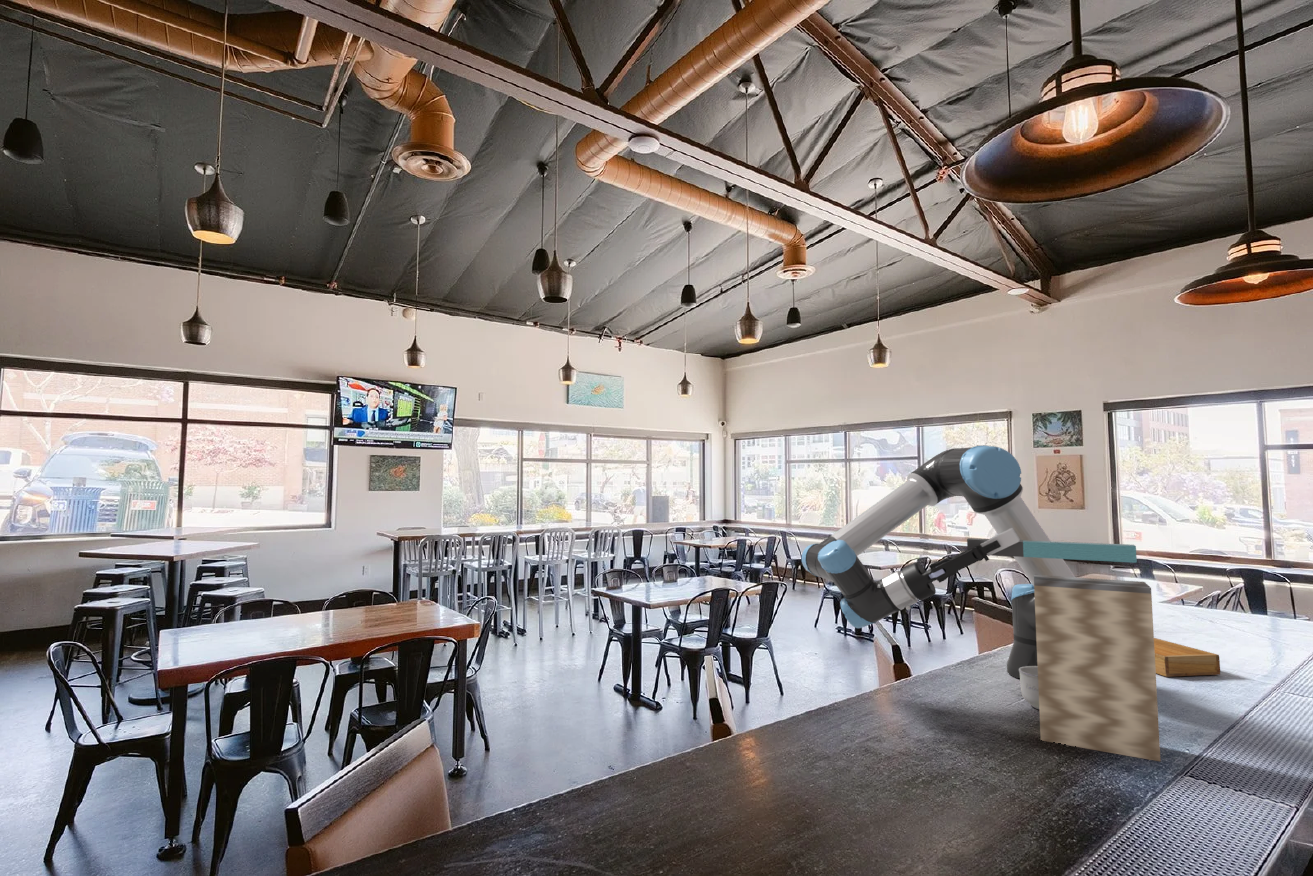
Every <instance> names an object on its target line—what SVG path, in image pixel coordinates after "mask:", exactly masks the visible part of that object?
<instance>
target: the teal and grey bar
mask: <svg viewBox="0 0 1313 876" xmlns="http://www.w3.org/2000/svg"><path fill="white" fill-rule="evenodd" d="M988 540H990V538H974V537H973V538H972V537H971V538H970V537H967V539H966V548H967V549H966V550H967V551H969V550H971V549H973V548H975V547H976V546H981V545H980V544H982V543H984V542H986V541H988ZM981 547H982V546H981ZM986 555H987V554H986ZM987 556H988V555H987ZM991 556H1000V557H1013V556H1015V557H1035V558H1054V559H1063V560H1073V561H1074V560H1077V561H1093V562H1095V561H1096V562H1098V561H1100V562H1115V563H1116V562H1117V563H1138V560H1137V559H1138V558H1137V557H1138V556H1137V546H1136V544H1125V543H1124V544H1123V543H1102V542H1101V543H1099V542H1097V543H1095V542H1078V541H1077V542H1071V541H1052V540H1050V541H1026V540H1019V542H1017V543H1015V544H1013V545H1011V546H1009V547H1007V548H1005V549H1003V550H1000V551H998V552H996V553H994V554H992V555H991Z"/></svg>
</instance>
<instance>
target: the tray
mask: <svg viewBox="0 0 1313 876" xmlns="http://www.w3.org/2000/svg"><path fill="white" fill-rule="evenodd" d="M1154 650H1155V668H1156V675H1160V676H1163V677H1167V678H1168V677H1187V676H1188V677H1189V676H1190V677H1191V676H1210V675H1211V676H1213V675H1214V676H1216V675H1219V676H1220V675H1221V663H1220V661H1221V660H1220V654H1217V653H1214V652H1210V651H1205V650H1201V649H1198V648H1194V647H1191V646H1188V645H1187V646H1186V645H1183V644H1179V643H1176V642H1175V643H1174V642H1172V641H1168V640H1164V639H1160V638H1156V637H1154Z"/></svg>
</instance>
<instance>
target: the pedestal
mask: <svg viewBox="0 0 1313 876" xmlns="http://www.w3.org/2000/svg"><path fill="white" fill-rule="evenodd" d="M1075 577H1076V576H1075ZM1075 577H1059V576H1043V575H1034V594H1035V618H1036V641H1037V665H1038V689H1039V709H1038V710H1039V712H1038V713H1039V730H1040V731H1039V734H1040V741H1041V740H1042V742H1047V743H1053V742H1055V743H1054V744H1058V743H1061V744H1060V745H1064V744H1066V745H1065V746H1071V747H1075V746H1076V747H1075V748H1081V749H1082V748H1083V749H1087V750H1094V751H1098V752H1103V753H1109V754H1110V753H1111V754H1117V755H1122V756H1127V757H1131V758H1132V757H1133V758H1138V759H1145V760H1150V761H1156V762H1161V761H1162V759H1161V746H1160V745H1161V743H1160V725H1159V724H1160V723H1159V709H1158V705H1159V704H1158V692H1157V690H1158V689H1157V688H1158V687H1157V673H1156V668H1155V650H1154V638H1155V634H1154V619H1153V618H1154V617H1153V597H1152V596H1153V595H1152V587H1150V586H1149V584H1148V583H1147V582H1145V581H1137V580H1136V581H1135V580H1119V579H1105V578H1104V579H1103V578H1091V577H1089V578H1088V577H1087V578H1086V577H1076V578H1075Z"/></svg>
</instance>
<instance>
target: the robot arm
mask: <svg viewBox="0 0 1313 876" xmlns="http://www.w3.org/2000/svg"><path fill="white" fill-rule="evenodd" d="M1021 474H1022V469H1021V467H1020V464H1019V461H1018V459H1016V458H1015V456H1014V455H1013V454H1012V453H1011V452H1010V451H1008V450H1006V449H1004V448H1002V447H998V446H995V445H994V446H993V445H985V444H984V445H975V446H971V447H970V446H969V447H961V448H960V447H958V448H957V447H956V448H955V447H954V448H950V449H947V450H946V449H945V450H944V451H942V452H940V453H938V454H936V455H935V456H933V457H931V458H930V459H928V460H927V461H925V462H924V463H923V464H921V465H920V466H919V467H918V468H916V469H915V470H913V471H912V472H910V473H909V474H908V475H907V477H906V481H905V482H904V483H902V484H901V485H899V486H898V487H896V488H895V489H893V490H892V491H891V492H890V493H889V494H887V495H885V496H884V497H883V498H882V499H880V500H879V501H877V502H876V503H874V504H873V505H871V506H870V507H868V508H867V509H866V510H865V511H863V512H862V513H860V514H859V515H857V517H854V518H853V519H852V520H850V521H849V522H848V523H847V524H845V525H844V526H842V527H841V528H840V529H838V530H837V531H836V532H834V533H833V534H831V535H830V536H828V537H827V538H825V539H824V540H822V541H821V542H820V543H818V542H817V543H811V544H809V545H807V546H806V547H805V548H804V549H803V551H802V553H801V563H802V566H803V568H804V570H806V571H807V572H809V573H810V574H811V575H813V576H815V577H819V578H822V579H825V580H827V581H829V582H832V583H834V585H835V586H836V587H837V589H838V590H839V591H840V593H841V594H842V596H843V598H841V600H840V602H839V603H840V608H841V611H842V613H843V615H844V617H845V619H846V620H847V622H848V623H849V624H850V625H851V626H852V627H853V628H855V629H863V628H865V627H867V626H869V625H873V624H876V623H877V622H879V621H881V620H883V619H885V618H887V617H890V616H892V615H894V614H895V613H898V612H900V611H902V610H904V609H906V610H907V611H909V610H911V608H912V607H911V606H913V605H914V604H916V603H918V600H919V601H924V600H926V599H928V598H930V597H932V596H935V595H936V593H937V591H936V587H935V584H934V583H933V582H935V581H937V582H938V583H942V582H944V581H946V580H947V579H948V578H950V577H951V576H955V575H956V574H957V573H958V572H959V571H961V570H962V569H965V568H967V567H969V566H971V565H973V564H975V563H977V562H982V561H983V559H984V561H985V562H987V561H988V562H989V560H990V558H989V557H990V556H993V555H992V554H994V553H996V552H998V551H1000V550H1003V549H1005V548H1007V547H1009V546H1011V545H1013V544H1015V543H1017V542H1019V540H1026V541H1051V539H1050V538H1049V536H1048V535H1047V533H1046V532H1045V530H1044V529H1043V528H1042V526H1041V524H1040V523H1039V521H1038V520H1037V519H1036V518H1035V516H1034V514H1033V513H1032V512H1031V510H1030V509H1029V507H1028V506H1027V504H1026V503H1025V501H1024V500H1023V498H1022V494H1023V490H1024V487H1023V485H1022V484H1021V482H1022V477H1021ZM953 497H964V499H965V501H966V502H967V503H968V505H969V507H970V508H971V510H973V512H974V513H976V514H977V515H978V514H979V515H983V516H985V517H986V519H987V520H988V521H989V524H990V525H991V526H992V527H993V529H994V530H995V532H996V533H997V535H994V536H992V537H990V538H989V539H990V540H988V541H986V542H984V543H982V544H980V545H981V546H982V547H981V546H976V547H975V548H973V549H971V550H969V551H967V549H966V550H963V551H962V552H960V553H957V554H956V555H954V556H952V557H951V556H947V557H945V558H943V559H941V560H939V561H938V560H936V561H935V562H932V563H930V565H928V567H929V568H928V569H927V570H925V569H924V567H923V566H922V565H921V564H920V563H919V562H917V561H916V562H912V563H911V564H909V565H906V566H905V567H903V568H902V570H899V569H897V570H896V571H894V572H893V573H891V574H888V575H886V576H885V577H883V578H880V579H878V580H876V581H875V579H874V578H873V577H872V575H871V574H870V573H869V571H868V570H867V568H866V567H865V566H864V564H863V563H862V561H861V560H860V558H859V557H858V556H859V555H861V554H862V553H864V552H865V551H866V550H867V549H869V548H870V547H872V546H873V545H875V544H876V543H877V542H879V541H880V540H881V539H883V538H884V537H885V536H887V535H888V534H890V533H891V532H893V531H894V530H895V529H898V528H899V526H901V525H902V524H904V523H905V522H907V521H908V520H910V518H912V517H913V516H915V515H916V514H918V513H919V512H920V511H922V510H923V509H925V508H926V507H927V506H929V507H934V506H936V505H938V504H939V503H940V502H942V501H944V500H946V499H948V498H949V499H950V498H953ZM986 554H987V555H986ZM1012 557H1013V559H1014V560H1015V561H1016V563H1017V564H1018V565H1019V567H1020V568H1021V570H1022V571H1023V572H1024V574H1025V576H1026V577H1027V578H1028V580H1029V582H1030V583H1018V584H1014V586H1013V587H1012V589H1011V598H1010V600H1011V610H1012V611H1011V612H1012V613H1011V614H1012V629H1013V633H1012V635H1013V643H1012V647H1011V650H1010V653H1009V655H1008V659H1007V662H1006V672H1007V674H1008V673H1009V674H1010V675H1009V674H1008V675H1009V676H1011V675H1012V677H1013V676H1014V677H1013V678H1015V677H1016V679H1018V678H1020V672H1019V668H1021V667H1025V666H1038V665H1037V641H1036V618H1035V594H1034V575H1043V576H1059V577H1075V578H1077V577H1076V576H1075V574H1074V573H1073V571H1072V570H1071V568H1070V567H1069V565H1068V564H1067V562H1066V561H1065V559H1054V558H1035V557H1015V556H1012Z"/></svg>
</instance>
